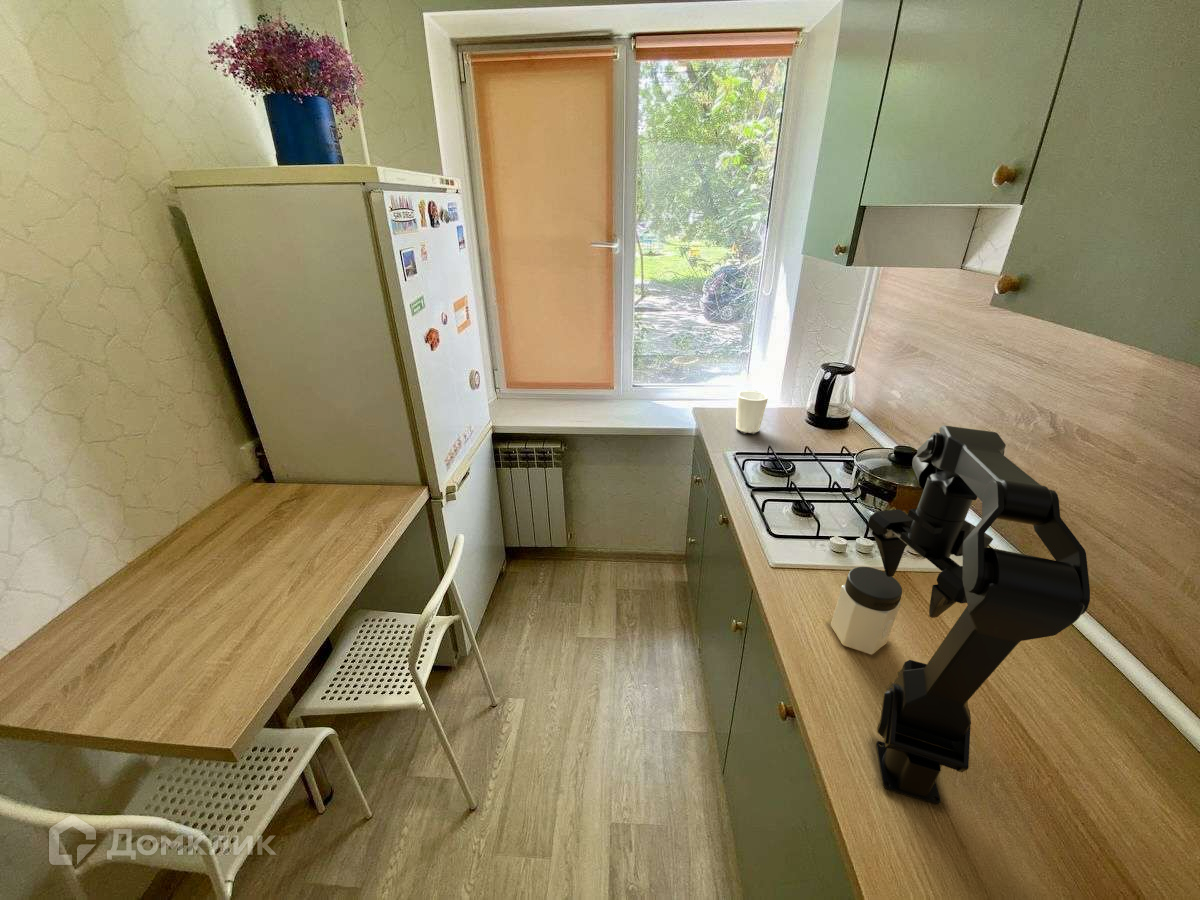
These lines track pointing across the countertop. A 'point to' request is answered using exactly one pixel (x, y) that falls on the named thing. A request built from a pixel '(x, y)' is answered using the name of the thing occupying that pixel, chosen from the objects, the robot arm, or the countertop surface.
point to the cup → (750, 411)
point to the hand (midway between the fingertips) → (910, 595)
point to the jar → (866, 609)
